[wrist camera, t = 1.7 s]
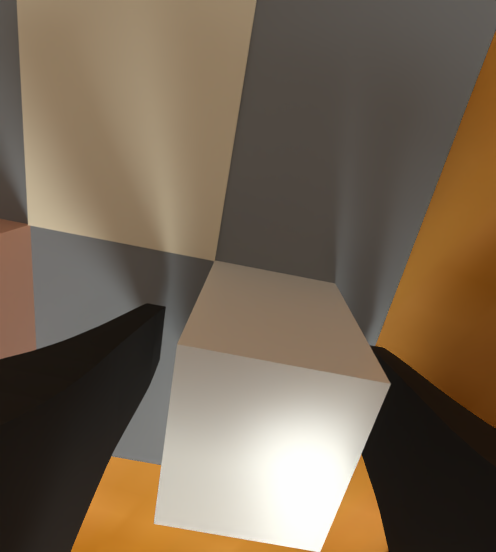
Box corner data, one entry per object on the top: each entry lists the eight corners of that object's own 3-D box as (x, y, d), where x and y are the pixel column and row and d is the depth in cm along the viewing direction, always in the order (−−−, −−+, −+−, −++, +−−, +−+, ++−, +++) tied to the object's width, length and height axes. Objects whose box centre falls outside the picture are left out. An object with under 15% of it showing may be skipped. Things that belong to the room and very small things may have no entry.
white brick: (335, 283, 11) (390, 383, 6) (298, 403, 12) (320, 552, 8) (215, 260, 11) (176, 344, 6) (195, 383, 12) (154, 523, 8)
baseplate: (532, -113, 8) (564, -145, 7) (316, 475, 15) (319, 495, 14) (-235, -288, 7) (-298, -345, 7) (-84, 404, 14) (-106, 420, 14)
